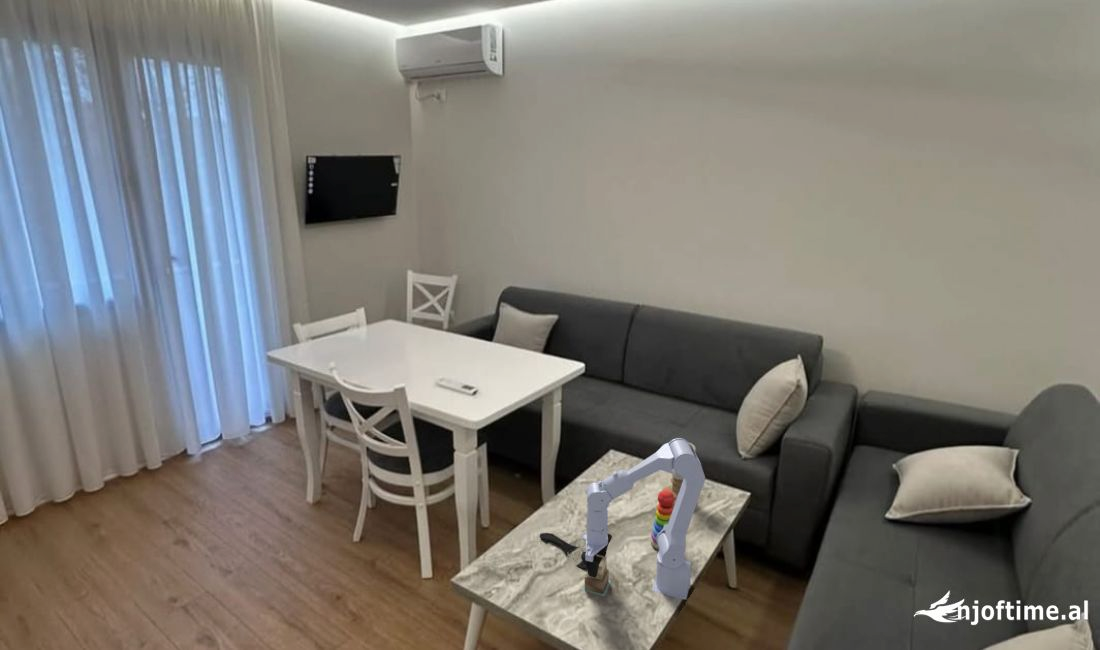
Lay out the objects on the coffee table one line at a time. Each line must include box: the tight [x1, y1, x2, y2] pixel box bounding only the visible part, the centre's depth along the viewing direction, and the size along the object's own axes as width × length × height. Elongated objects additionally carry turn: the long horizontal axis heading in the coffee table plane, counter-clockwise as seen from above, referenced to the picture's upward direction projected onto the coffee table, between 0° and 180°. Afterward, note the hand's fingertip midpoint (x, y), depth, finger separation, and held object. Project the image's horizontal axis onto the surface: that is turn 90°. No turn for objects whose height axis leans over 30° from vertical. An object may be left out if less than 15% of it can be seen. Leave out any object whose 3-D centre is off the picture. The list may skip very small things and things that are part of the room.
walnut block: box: [584, 568, 610, 594], centre depth 159 cm, size 5×5×4 cm
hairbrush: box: [539, 532, 587, 571], centre depth 174 cm, size 8×4×25 cm
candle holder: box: [662, 441, 697, 507], centre depth 200 cm, size 12×12×20 cm
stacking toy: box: [650, 489, 674, 551], centre depth 175 cm, size 8×8×19 cm
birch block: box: [586, 554, 608, 580], centre depth 158 cm, size 4×4×4 cm
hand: (596, 567), depth 158 cm, fingers open, 7 cm apart
